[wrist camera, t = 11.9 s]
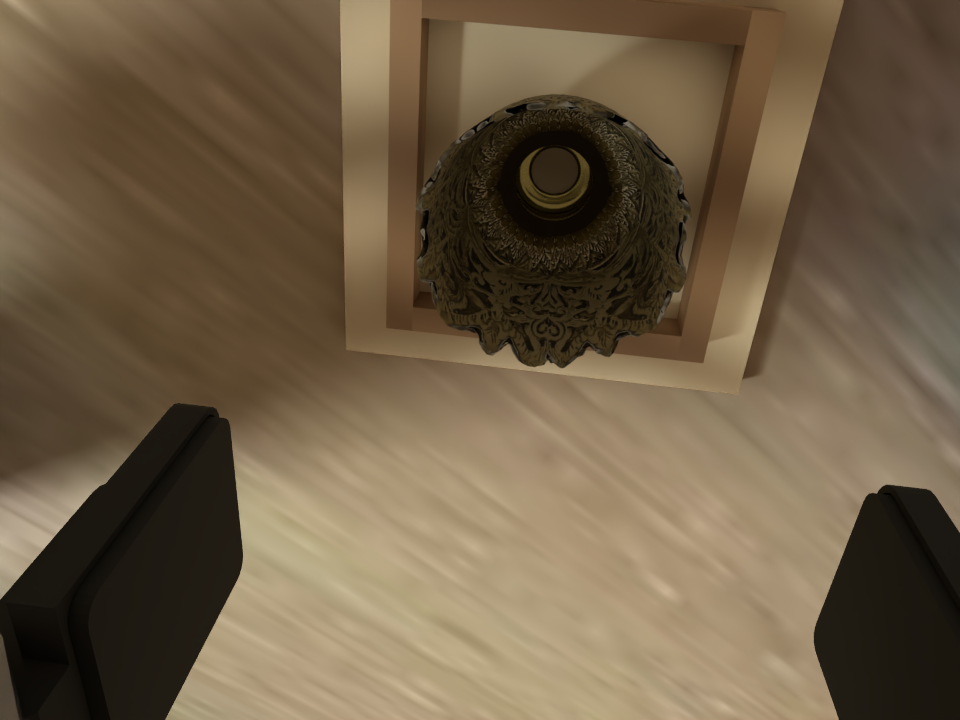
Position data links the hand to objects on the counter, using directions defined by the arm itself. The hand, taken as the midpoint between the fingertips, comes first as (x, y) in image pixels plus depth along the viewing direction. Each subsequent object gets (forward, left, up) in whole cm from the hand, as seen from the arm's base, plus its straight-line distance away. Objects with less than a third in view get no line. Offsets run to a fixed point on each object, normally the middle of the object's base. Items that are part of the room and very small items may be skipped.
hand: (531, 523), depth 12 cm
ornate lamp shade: (0, 0, -19) cm, 19 cm away
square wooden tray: (0, 0, -20) cm, 20 cm away
